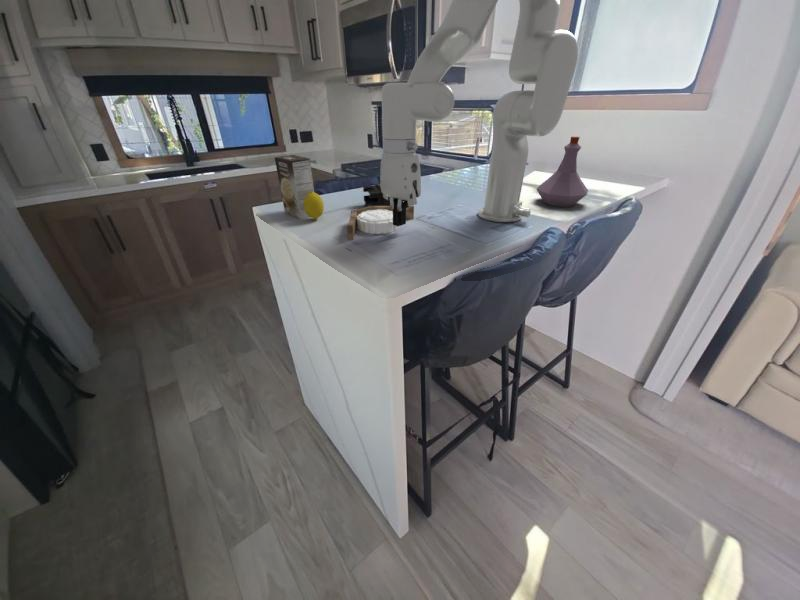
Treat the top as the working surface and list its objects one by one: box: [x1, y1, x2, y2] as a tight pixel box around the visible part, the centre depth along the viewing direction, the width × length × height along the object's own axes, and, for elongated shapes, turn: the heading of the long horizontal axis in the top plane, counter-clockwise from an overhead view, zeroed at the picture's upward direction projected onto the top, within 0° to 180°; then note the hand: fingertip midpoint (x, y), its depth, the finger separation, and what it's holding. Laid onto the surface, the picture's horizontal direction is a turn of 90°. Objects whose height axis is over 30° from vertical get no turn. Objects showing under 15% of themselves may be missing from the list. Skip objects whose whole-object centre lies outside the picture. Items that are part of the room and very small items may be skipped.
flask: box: [536, 136, 589, 208], centre depth 105 cm, size 16×16×20 cm
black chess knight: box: [362, 182, 390, 207], centre depth 104 cm, size 10×7×7 cm
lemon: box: [304, 191, 325, 220], centre depth 93 cm, size 6×6×8 cm
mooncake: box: [356, 209, 401, 235], centre depth 90 cm, size 12×12×4 cm
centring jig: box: [347, 205, 415, 240], centre depth 91 cm, size 10×24×4 cm, turn 136°
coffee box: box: [274, 154, 315, 220], centre depth 96 cm, size 9×6×16 cm
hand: (399, 224), depth 85 cm, fingers closed
